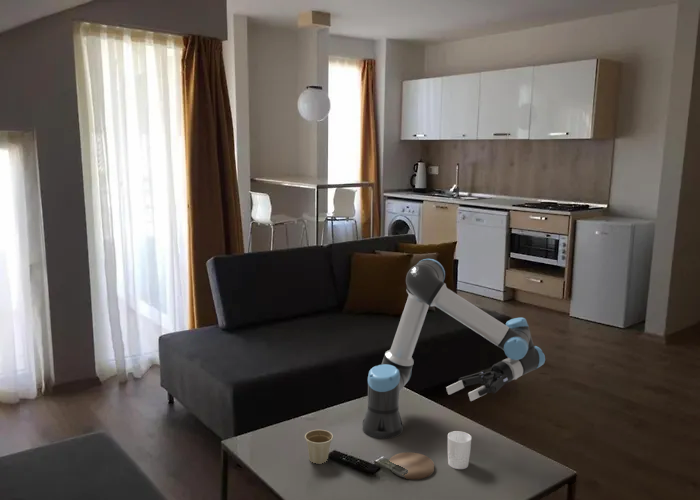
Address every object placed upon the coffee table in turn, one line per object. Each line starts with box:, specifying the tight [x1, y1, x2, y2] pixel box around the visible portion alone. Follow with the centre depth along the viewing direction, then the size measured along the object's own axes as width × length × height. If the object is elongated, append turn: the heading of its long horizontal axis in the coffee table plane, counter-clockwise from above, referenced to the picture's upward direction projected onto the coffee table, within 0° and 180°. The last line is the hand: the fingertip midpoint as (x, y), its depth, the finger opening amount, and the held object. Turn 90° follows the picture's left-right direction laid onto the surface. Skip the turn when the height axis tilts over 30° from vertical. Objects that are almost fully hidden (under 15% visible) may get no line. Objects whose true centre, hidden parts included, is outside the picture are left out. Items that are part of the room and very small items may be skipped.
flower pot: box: [304, 429, 334, 465], centre depth 202 cm, size 9×9×9 cm
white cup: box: [447, 430, 473, 470], centre depth 201 cm, size 8×8×10 cm
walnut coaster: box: [388, 451, 435, 480], centre depth 199 cm, size 15×15×1 cm
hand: (458, 394), depth 204 cm, fingers open, 13 cm apart
